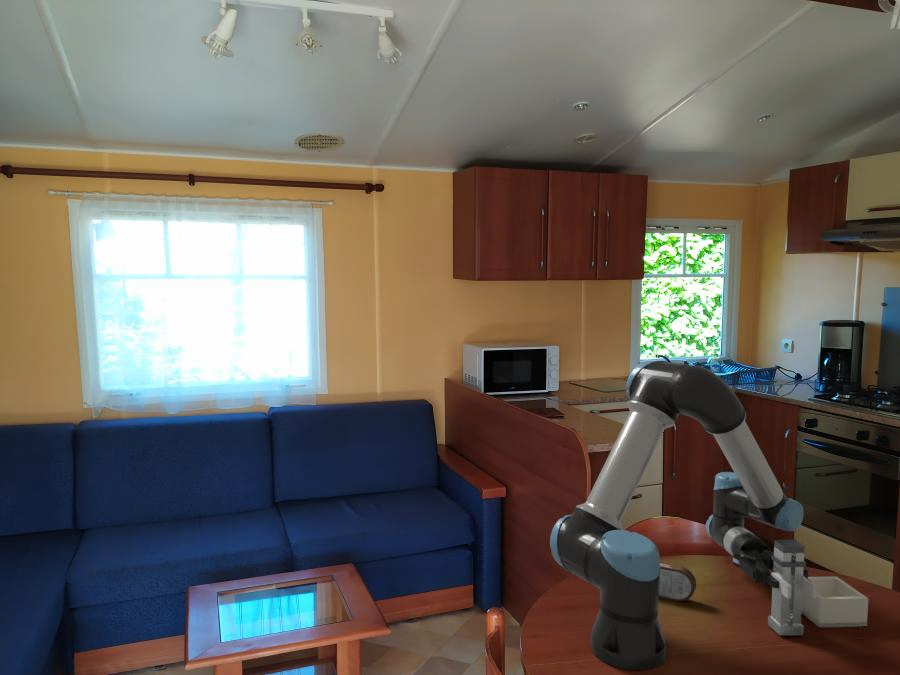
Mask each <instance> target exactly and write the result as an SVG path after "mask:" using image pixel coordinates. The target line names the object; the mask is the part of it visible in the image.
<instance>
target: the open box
mask: <svg viewBox="0 0 900 675" xmlns="http://www.w3.org/2000/svg"><path fill="white" fill-rule="evenodd" d="M808 579H809V580H810V581H811V582H812V583H813V584H815V585H816V598H811V597H810V596H809V595H808V594H806V593H805V592H804V591H802V610H801V615H803V616H805V617H806V618H807V619H808V620H809V621H811V622H812V623H813V624H814V625H815V626H816V627H817V628H855V627H856V628H858V626H859V627H860V628H861V627H862V626H868V614H869V613H868V611H869V597H867V596H865V595H864V594H862V592H860V591H858V590H857V589H856V588H854V587H853V586H851V585H850V584H848V583H847V582H846V581H844V580H842V579H841V578H840V577H838V576H808Z"/></svg>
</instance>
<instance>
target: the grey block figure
mask: <svg viewBox="0 0 900 675" xmlns="http://www.w3.org/2000/svg"><path fill="white" fill-rule="evenodd" d="M773 546H774V548H773V553H774V555H772V560H773V561H774V563H773V571H772V573H776V574H777V575H778V576H780V577H781V578H782V579H783V580H785V581H786V582H787V583H788V584H790V585H791V586H792V590H791V599H787V598H786V597H785V596H784V595H783V594H782V593H780V592H779V591H778V590H777V589H776V588H773V587H772V586H771V589H772V590H771V611H770V614H769V615H768V614H767V615H768V616H767V625H768V626H769V627H770V628H771V629H773V631H774V632H775V633H777V635H779V636H804V632H805V631H804V628H805V627H804V625H803V624H802V613H801V610H802V589H803V570H804V568H807V561H805V549H806V548H805V547H806V546H805V545H804V544H802V543H801V542H799V541H797V540H796V539H774V544H773Z"/></svg>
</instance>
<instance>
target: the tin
mask: <svg viewBox="0 0 900 675" xmlns="http://www.w3.org/2000/svg"><path fill="white" fill-rule="evenodd" d="M659 562H660V581H659V598H661V597H662V599H665V598H666V600H670V601H675V602H685V601H688V600H689V599H691V598H692V597H693V595H694V593H695V590H696V588H697V580H696V578H695V575H694V574H693V573H692V571H691V570H690V569H689V568H687V567H685V566H683V565H680V564H676V563H670V562H667V561H666V562H665V561H661V560H659Z"/></svg>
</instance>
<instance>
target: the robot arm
mask: <svg viewBox="0 0 900 675" xmlns="http://www.w3.org/2000/svg"><path fill="white" fill-rule="evenodd" d="M626 388H627V389H626V391H625V392H626V396H627V398H628V401H627V403H626V405H627V409H628V410H629V414H628V416H627V418H626V420H625V422H624V424H623V426H622V428H621V429H620V432H619V434H618V436H617V438H616V440H615V442H614V444H613V446H612V448H611V450H610V452H609V454H608V456H607V458H606V460H605V463H604V465H603V466H602V469H601V471H600V472H599V474H598V477H597V478H596V481H595V482H594V484H593V487H592V489H591V491H590V493H589V494H588V497H587V499H586V501H585V502H583V503H581V504H578V505H576V506H575V508H574V510H573V511H572V513H571V514H567V515H564V516H562V517H561V518H559V519H558V520H557V521H556V522H555V524H554V525H553V528H552V530H551V533H550V539H549V544H550V545H549V546H550V550H551V555H552V558H553V559H554V560H555V561H556V563H557V564H558V565H559V566H561V567H562V568H563V569H564V570H566V572H568V573H571V574H573V575H575V576H577V577H579V578H580V579H581V580H583V581H585V582H586V583H589V584H590V585H592V586H594V587H596V588H598V589H599V609H598V613H597V616H596V618H595V620H594V624H593V626H592V629H591V631H590V638H589V639H590V642H589V643H590V649H591V651H592V653H593V654H594V655H595V656H596V657H597V658H598V659H600V660H601V661H603V662H604V663H606V664H608V665H611V666H612V667H616V668H620V669H623V670H629V671H646V670H647V671H648V670H653V669H655V668H658V667H659V666H661V665H662V664H663V663H664V662H665V660H666V659H667V658H666V657H667V643H666V640H665V637H664V634H663V630H662V627H661V623H660V620H659V601H660V600H659V599H660V597H659V581H660V562H659V561H660V552H659V549H658V547H657V546H656V544H655V543H654V542H653V541H652V540H651V539H649V538H648V537H646V536H644V535H643V534H641V533H638V532H635V531H632V532H631V531H629V530H625V529H623V525H622V519H623V517H624V515H625V513H626V511H627V508H628V507H629V504H630V502H631V500H632V498H633V496H634V494H635V492H636V489H637V487H638V485H639V484H640V481H641V479H642V477H643V475H644V473H645V471H646V468H647V467H648V464H649V463H650V460H651V459H652V456H653V454H654V452H655V450H656V448H657V445H658V444H659V442H660V439H661V437H662V436H663V432H664V431H665V430H666V429H669V428H671V427H674V426H675V424H676V422H677V420H678V418H679V416H680V415H681V416H686V417H690V418H692V419H694V420H696V421H698V422H699V423H700V424H701V426H702V427H703V430H704V431H706V432H707V433H708V434H710V435H713V438H714V439H715V441H716V443H717V444H718V445H719V448H720V449H721V451H722V454H723V455H724V456H725V458H726V460H727V461H728V464H729V466H730V467H731V469H732V470H733V472H732V471H722V472H719V473H717V474H716V475H715V476H714V486H713V506H712V507H713V509H712V510H713V511H712V512H713V513H712V514H711V515H710V516H709V517H708V519H707V520H706V523H705V529H706V533H707V534H708V536H709V537H710V538H711V539H712V540H713V542H714V543H716V544H717V545H719V546H720V547H721V548H723V549H724V550H725V552H727V553H729V554H730V555H731V556H732V566H734V567H736V568H739V569H740V570H741V571H742V572H744V573H745V574H746V575H747V576H748V577H749V578H750V579H752V580H753V581H754V582H755V583H761V582H763V586H764V587H765V588H769V587H771V588H772V587H773V588H776V589H777V590H778V591H779V592H780V593H782V594H783V595H784V596H785V597H786V598H787V599H791V590H792V586H791V585H790V584H788V583H787V582H786V581H785V580H783V579H782V578H781V577H780V576H778V575H777V574H776V573H773V563H774V561H773V560H772V555H774V551H773V552H772V551H771V550H770V549H769V547H768V545H767V544H766V543H765V541H763V540H761V538H760V537H758V536H756V534H754V533H753V532H751V531H750V530H748V529H747V528H745V518H748V519H751V520H754V521H757V522H760V523H762V524H765V525H768V526H771V527H773V528H775V529H780V530H783V531H787V532H794V531H796V530H797V529H799V528H800V526H801V524H802V523H803V520H804V507H803V505H802V504H801V503H800V502H799V501H798V500H795V499H793V498H792V497H789V498H788V497H787V496H786V495H785V493H784V491H783V490H782V487H781V485H780V484H779V482H778V479H777V478H776V476H775V474H774V472H773V471H772V469H771V467H770V465H769V463H768V461H767V459H766V457H765V455H764V454H763V451H762V450H761V448H760V446H759V444H758V443H757V440H756V439H755V437H754V435H753V433H752V431H751V430H750V428H749V426H748V424H747V422H746V419H747V413H746V410H745V408H744V406H743V404H742V403H741V401H740V399H739V397H738V396H737V395H736V393H735V392H734V391H733V390H732V388H731V387H730V386H729V384H727V383H726V382H725V381H724V380H723V379H722V378H721V377H720V376H719V375H717V374H716V373H715V372H713V371H711V370H710V369H708V368H706V367H703V366H699V365H695V364H683V363H676V362H670V361H666V360H646V361H643V362H641V363H639V364H638V365H636V366H635V367H634V368H633V370H632V371H631V372H630V374H629V375H628V378H627V381H626ZM808 577H809V570H808V569H807V568H806V567H804V570H803V589H802V591H804V592H805V593H806V594H808V595H809V596H810V597H811V598H816V585H815V584H813V583H812V582H811V581H810V580H809V579H808Z"/></svg>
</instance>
